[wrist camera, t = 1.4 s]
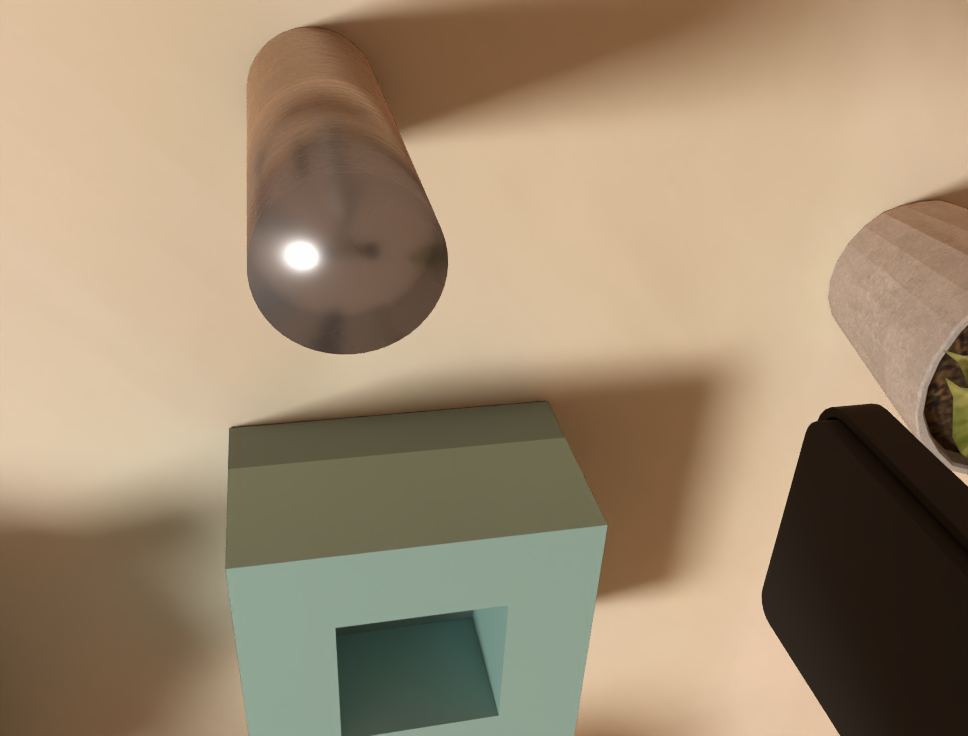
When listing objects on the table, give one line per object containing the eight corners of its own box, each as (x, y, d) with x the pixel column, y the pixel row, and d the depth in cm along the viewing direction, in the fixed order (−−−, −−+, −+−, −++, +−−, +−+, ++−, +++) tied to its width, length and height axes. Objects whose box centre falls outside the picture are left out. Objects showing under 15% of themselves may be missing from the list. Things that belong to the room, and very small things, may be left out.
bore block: (229, 428, 28) (224, 569, 23) (547, 401, 30) (607, 524, 25) (257, 653, 33) (258, 806, 28) (525, 616, 35) (571, 754, 30)
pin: (241, 26, 22) (237, 176, 13) (375, 27, 22) (451, 170, 14) (252, 157, 23) (255, 360, 15) (377, 153, 24) (445, 347, 16)
